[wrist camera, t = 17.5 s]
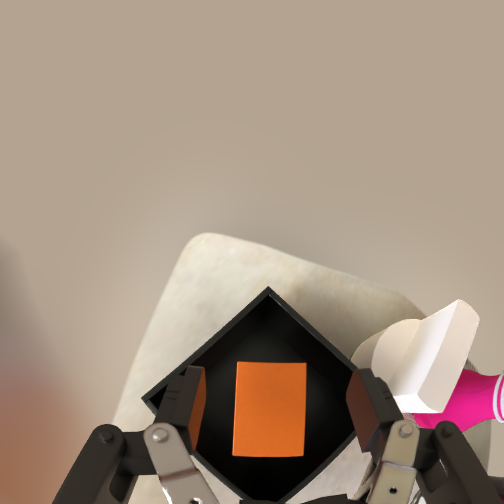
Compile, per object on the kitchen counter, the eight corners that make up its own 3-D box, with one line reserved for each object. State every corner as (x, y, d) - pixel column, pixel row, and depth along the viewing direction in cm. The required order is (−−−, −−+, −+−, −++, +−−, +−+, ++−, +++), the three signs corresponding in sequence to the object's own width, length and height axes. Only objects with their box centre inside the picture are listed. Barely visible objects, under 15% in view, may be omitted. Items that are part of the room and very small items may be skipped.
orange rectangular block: (286, 372, 25) (306, 362, 16) (284, 433, 22) (303, 456, 13) (241, 371, 25) (237, 361, 17) (238, 432, 22) (232, 455, 13)
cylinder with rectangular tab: (375, 318, 28) (434, 274, 18) (428, 359, 26) (499, 333, 15) (331, 383, 25) (384, 375, 15) (390, 425, 22) (461, 431, 12)
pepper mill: (435, 362, 25) (572, 306, 8) (460, 399, 23) (591, 367, 5) (398, 406, 23) (553, 388, 6) (426, 443, 21) (567, 445, 3)
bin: (351, 396, 24) (389, 395, 17) (261, 483, 20) (266, 516, 12) (262, 315, 29) (268, 285, 21) (171, 397, 24) (140, 397, 17)
